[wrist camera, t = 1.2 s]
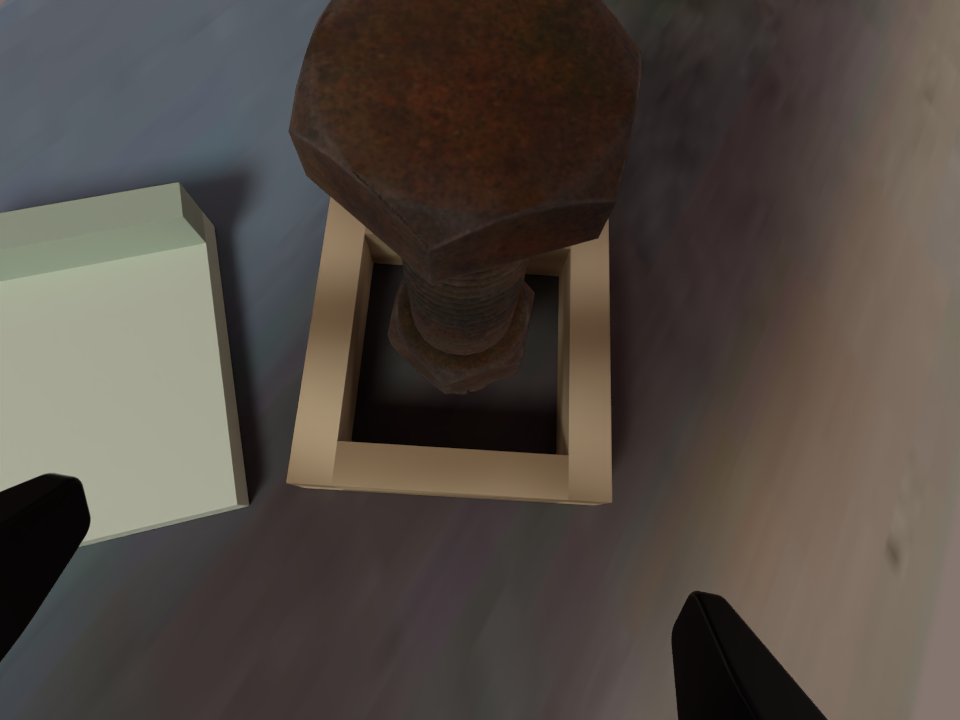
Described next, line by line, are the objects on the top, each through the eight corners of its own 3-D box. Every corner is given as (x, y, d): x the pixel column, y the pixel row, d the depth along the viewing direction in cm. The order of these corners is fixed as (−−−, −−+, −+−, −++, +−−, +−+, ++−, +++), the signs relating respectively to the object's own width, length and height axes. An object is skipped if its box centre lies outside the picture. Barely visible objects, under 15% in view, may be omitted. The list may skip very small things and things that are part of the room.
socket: (594, 505, 21) (612, 502, 19) (305, 487, 21) (286, 482, 18) (593, 247, 24) (608, 217, 22) (342, 229, 24) (330, 196, 22)
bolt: (507, 285, 24) (592, -84, 9) (547, 395, 22) (717, 161, 8) (375, 322, 23) (245, -18, 9) (408, 438, 22) (320, 265, 7)
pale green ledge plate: (249, 506, 21) (213, 502, 18) (-40, 575, 19) (-131, 584, 16) (214, 226, 24) (179, 182, 21) (-35, 271, 23) (-112, 232, 20)
